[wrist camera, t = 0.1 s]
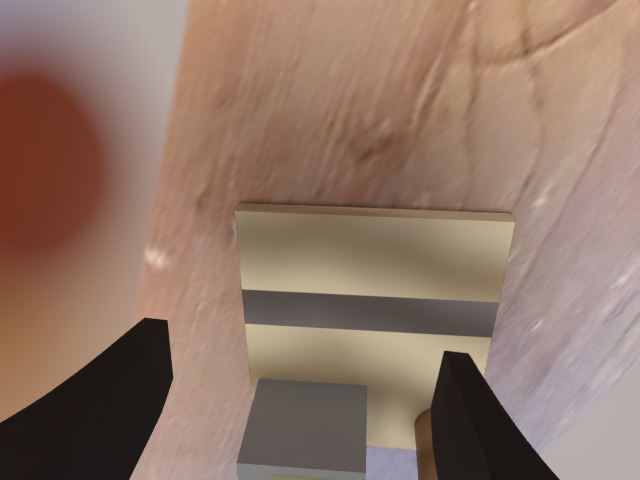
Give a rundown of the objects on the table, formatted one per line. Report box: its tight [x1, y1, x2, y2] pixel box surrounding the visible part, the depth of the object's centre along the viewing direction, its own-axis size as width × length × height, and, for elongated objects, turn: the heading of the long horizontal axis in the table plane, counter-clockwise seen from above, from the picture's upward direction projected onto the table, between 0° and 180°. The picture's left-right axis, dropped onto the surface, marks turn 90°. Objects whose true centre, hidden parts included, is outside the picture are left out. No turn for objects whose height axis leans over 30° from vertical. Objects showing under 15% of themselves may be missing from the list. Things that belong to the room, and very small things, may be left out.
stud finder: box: [237, 379, 367, 480], centre depth 25 cm, size 4×6×5 cm
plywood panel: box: [235, 203, 515, 450], centre depth 25 cm, size 14×12×1 cm
